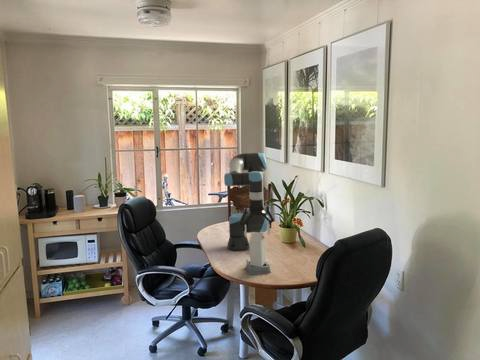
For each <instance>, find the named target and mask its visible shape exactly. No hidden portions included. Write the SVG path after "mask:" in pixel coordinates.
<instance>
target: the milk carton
mask: <svg viewBox="0 0 480 360" xmlns="http://www.w3.org/2000/svg"><path fill="white" fill-rule="evenodd" d="M248 242H249V261H250V265H252V266H261V267H262V266H263V265H264V263H265V262H267V260H266V257H267V256H266V237H265V236H264V232H260V233H258V232H251V234H250V237H249V239H248Z"/></svg>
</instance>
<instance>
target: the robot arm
mask: <svg viewBox="0 0 480 360" xmlns="http://www.w3.org/2000/svg"><path fill="white" fill-rule="evenodd" d="M267 165H268V164H267V159H266V155H265V153H263V152H251V153H249V152H248V153H239V154H237V155H235V156H234V157H232V158H231V159H230V161H229V165H228V166H229V171H228V173H227V172H226V173H224V177H223V178H224V179H223V180H224V186H226V187H238V186H243V187H244V186H248V188H249V190H248V191H249V192H248V193H249V194H248V195H249V207H244V208H243V212H238V213H233V214H231V215H230V216H229V217H228V226H229V227H228V229H229V230H228V231H229V238H228V241H227V247H226V248H227V249H228V250H229V251H233V252H238V251H239V252H241V251H247V250H248V249H250V242H249V239H248V236H247V235H248V234H249V233H251V232H258V233H266V234H267V235H271V229H272V224H273V222H275V219H274V217H273V215H272V213H271V211H270V209H269V208H270V207H269V206H268V205H264V203H265V202H264V201H265V200H264V174H265V173H266V171H267V170H268V167H267ZM242 171H247V172H242ZM248 212H249V213H248ZM247 213H248V215H247ZM269 218H270V219H269ZM247 233H248V234H247Z"/></svg>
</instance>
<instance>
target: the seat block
mask: <svg viewBox="0 0 480 360" xmlns="http://www.w3.org/2000/svg"><path fill="white" fill-rule="evenodd" d="M245 262H246V265H245V268H246V269H247V272H248V273H249V275H250V276H251V275H253V276H254V275H260V274H261V275H262V274H268V273H269V274H270V273H272V272H271V263H268V262H267V261H266V262H265V263H264V265H263V266H262V267H261V266H252V265H250V260H249V258H246V261H245Z"/></svg>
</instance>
